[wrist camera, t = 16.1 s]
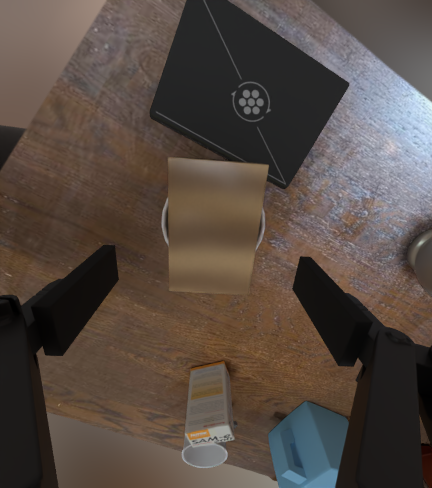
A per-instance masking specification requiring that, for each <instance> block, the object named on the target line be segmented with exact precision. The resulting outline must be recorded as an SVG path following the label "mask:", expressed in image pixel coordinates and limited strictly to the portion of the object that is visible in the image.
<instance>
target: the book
mask: <svg viewBox="0 0 432 488" xmlns="http://www.w3.org/2000/svg"><path fill="white" fill-rule="evenodd" d="M348 87H349V83H348V82H347V81H345V80H344V79H342V78H341V77H339V76H338V75H337V74H335V73H334V72H332V71H331V70H329V69H328V68H326V67H325V66H323V65H322V64H320V63H319V62H317V61H316V60H314V59H313V58H312V57H310V56H309V55H307V54H306V53H304V52H303V51H301V50H300V49H298V48H297V47H295V46H294V45H292V44H291V43H289V42H288V41H287V40H285V39H284V38H282V37H281V36H279V35H278V34H276V33H275V32H273V31H272V30H270V29H269V28H267V27H266V26H264V25H263V24H262V23H260V22H259V21H257V20H256V19H254V18H253V17H251V16H250V15H248V14H247V13H245V12H244V11H242V10H241V9H240V8H238V7H237V6H235V5H234V4H232V3H231V2H229V1H228V0H187V1H186V4H185V7H184V10H183V13H182V16H181V19H180V22H179V25H178V28H177V31H176V34H175V37H174V40H173V43H172V46H171V49H170V52H169V55H168V58H167V61H166V64H165V67H164V70H163V73H162V76H161V79H160V82H159V85H158V88H157V91H156V94H155V97H154V100H153V103H152V106H151V109H150V117H151V118H152V119H153V120H155V121H157V122H159V123H161V124H163V125H164V126H166V127H168V128H170V129H172V130H174V131H176V132H177V133H179V134H181V135H183V136H185V137H187V138H189V139H191V140H192V141H194V142H196V143H198V144H200V145H202V146H204V147H205V148H207V149H209V150H211V151H213V152H215V153H217V154H218V155H220V156H222V157H224V158H226V159H228V160H230V161H236V162H249V163H262V164H267V165H269V168H268V174H267V181H269V182H271V183H272V184H274V185H276V186H278V187H280V188H282V189H285V188H287V187H288V186H289V184H290V183H291V181H292V179H293V178H294V176H295V174H296V173H297V171H298V169H299V168H300V166H301V164H302V163H303V161H304V159H305V158H306V156H307V154H308V153H309V151H310V150H311V148H312V146H313V145H314V143H315V141H316V140H317V138H318V136H319V135H320V133H321V131H322V130H323V128H324V126H325V125H326V123H327V121H328V120H329V118H330V116H331V115H332V113H333V111H334V110H335V108H336V107H337V105H338V103H339V102H340V100H341V98H342V97H343V95H344V93H345V92H346V90H347V88H348Z"/></svg>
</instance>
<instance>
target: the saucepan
mask: <svg viewBox="0 0 432 488" xmlns="http://www.w3.org/2000/svg"><path fill="white" fill-rule="evenodd" d="M233 426H234V428H236V427H237V422H236V421H234V422H233ZM227 456H228V454H227V451H226V441H225V442H220V443H214V444H209V445H204V446H199V447H192V445H191V444H190V442H189V440H188V438H187V437H186V435H185V440H184V450H183V451H182V459H183V460H184V461H185V462H186V463H187V464H189V465H191V466H194V467H199V468H210V467H214V466H218V465H220V464H222V463H223V462H224V461H225V460H226V459H227Z"/></svg>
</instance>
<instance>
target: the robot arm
mask: <svg viewBox="0 0 432 488" xmlns="http://www.w3.org/2000/svg"><path fill="white" fill-rule="evenodd" d="M118 280H119V278H118V269H117V260H116V251H115V245H103V246H102V247H100V248H99V249H98V250H97V251H96V252H95V253H93V254H92V255H91V256H90V257H89V258H87V259H86V260H85V261H84V262H83V263H82V264H80V265H79V266H78V267H77V268H76V269H74V270H73V271H72V272H71V273H70V274H69V275H67V276H66V277H65V278H64V279H58V280H56V281H54V282H51V283H49V284H48V285H47V286H46V287H44V288H43V289H42V291H39V292H38V293H37V294H36V296H35V295H34V296H33V297H32V298H31V299H29V300H28V301H27V302H26V303H24V304H23V305H22V306H21V305H20V302H19V299H18V297H17V296H14V295H2V296H0V488H58V481H57V475H56V469H55V463H54V456H53V450H52V444H51V438H50V432H49V426H48V419H47V413H46V407H45V400H44V394H43V388H42V382H41V376H40V369H39V363H38V358H37V355H36V353H37V351H38V350H39V349H40V348H41V347H42V346H43V349H44V352H45V355H50V356H63V355H64V353H65V352H66V351H67V349H68V348H69V346H70V345H71V344H72V342H73V341H74V340H75V338H76V337H77V336H78V334H79V333H80V332H81V330H82V329H83V327H84V326H85V325H86V323H87V322H88V321H89V319H90V318H91V317H92V315H93V314H94V313H95V311H96V310H97V308H98V307H99V306H100V304H101V303H102V302H103V300H104V299H105V298H106V296H107V295H108V293H109V292H110V291H111V289H112V288H113V287H114V285H115V284H116V283H117V281H118ZM292 289H293V291H294V292H295V294H296V296H297V297H298V299H299V301H300V302H301V304H302V306H303V307H304V309H305V311H306V312H307V314H308V316H309V317H310V319H311V321H312V322H313V324H314V326H315V327H316V329H317V331H318V332H319V334H320V336H321V338H322V339H323V341H324V343H325V344H326V346H327V348H328V349H329V351H330V353H331V354H332V356H333V358H334V359H335V361H336V363H337V364H338V366H351V367H354V365H355V362H356V360H357V358H359V360H360V361H361V362H362V364H363V365H362V368H361V370H360V372H359V374H358V376H357V378H356V381H357V382H358V383H357V388H356V393H355V397H354V402H353V406H352V411H351V416H350V420H349V425H348V429H347V434H346V439H345V443H344V448H343V452H342V457H341V462H340V466H339V471H338V475H337V480H336V484H335V488H424V486H423V469H422V453H421V436H420V420H419V414H420V417H421V420H422V422H423V425H424V428H425V430H426V433H427V436H428V439H429V441H430V444H431V447H432V346H431V347H426V346H422V345H418V344H415V343H414V342H413V341H412V340H411V339H410V338H409V337H408V336H407V335H405V334H404V333H402V332H400V331H398V330H396V329H393V328H390V327H385V326H384V325H383V324H382V323H381V322H380V321H379V320H378V319H377V318H376V317H375V316H374V315H373V314H372V313H371V312H370V311H368V309H367V308H366V307H365V306H363V304H362V303H361V302H360V301H359V300H358V299H357V298H355V297H354V296H352V295H351V294H349V293H344V291H343V290H342V289H341V288H340V287H339V286H338V285H337V284H336V283H335V282H334V281H333V280H332V279H331V278H330V277H329V276H328V275H327V274H326V273H325V272H324V271H323V269H322V268H321V267H320V266H319V265H318V264H317V263H316V262H315V261H314V260H313V259H312V258H311V257H302V256H300V259H299V263H298V268H297V272H296V276H295V280H294V284H293V288H292Z"/></svg>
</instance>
